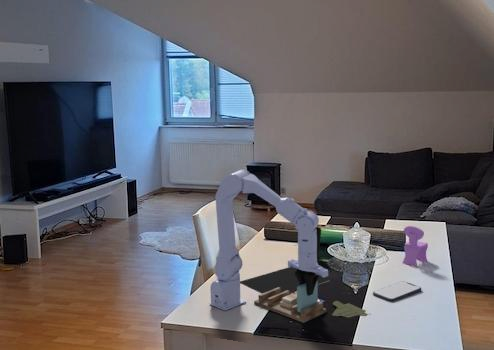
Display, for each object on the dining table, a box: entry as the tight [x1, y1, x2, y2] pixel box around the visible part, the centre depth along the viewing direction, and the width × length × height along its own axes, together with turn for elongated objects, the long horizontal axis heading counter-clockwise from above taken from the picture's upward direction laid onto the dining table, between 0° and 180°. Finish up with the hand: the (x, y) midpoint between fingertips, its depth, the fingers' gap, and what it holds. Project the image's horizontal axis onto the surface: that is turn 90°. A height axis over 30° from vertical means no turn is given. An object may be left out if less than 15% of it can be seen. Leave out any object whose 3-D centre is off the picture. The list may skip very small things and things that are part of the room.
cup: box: [315, 226, 322, 260], centre depth 232 cm, size 8×8×12 cm
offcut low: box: [280, 301, 297, 309], centre depth 184 cm, size 6×4×1 cm
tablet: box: [240, 266, 331, 294], centre depth 208 cm, size 27×1×20 cm
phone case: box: [372, 280, 422, 303], centre depth 195 cm, size 9×2×16 cm
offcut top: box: [282, 293, 297, 304], centre depth 185 cm, size 5×4×1 cm
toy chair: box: [401, 225, 429, 267], centre depth 224 cm, size 8×9×15 cm
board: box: [296, 281, 319, 313], centre depth 179 cm, size 8×2×8 cm, turn 134°
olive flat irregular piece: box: [331, 300, 372, 319], centre depth 179 cm, size 11×18×1 cm, turn 36°
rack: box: [253, 287, 328, 324], centre depth 184 cm, size 11×21×3 cm, turn 44°
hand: (307, 293), depth 179 cm, fingers closed on board, 1 cm apart
